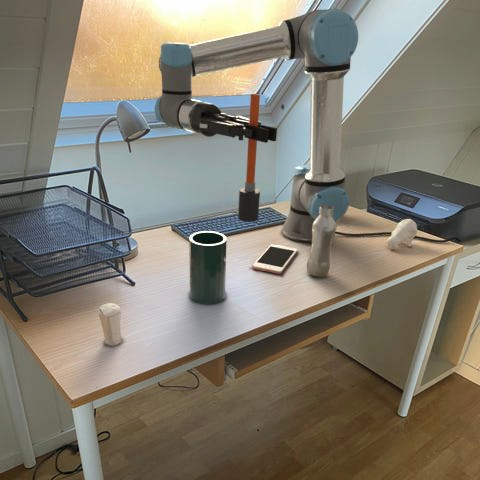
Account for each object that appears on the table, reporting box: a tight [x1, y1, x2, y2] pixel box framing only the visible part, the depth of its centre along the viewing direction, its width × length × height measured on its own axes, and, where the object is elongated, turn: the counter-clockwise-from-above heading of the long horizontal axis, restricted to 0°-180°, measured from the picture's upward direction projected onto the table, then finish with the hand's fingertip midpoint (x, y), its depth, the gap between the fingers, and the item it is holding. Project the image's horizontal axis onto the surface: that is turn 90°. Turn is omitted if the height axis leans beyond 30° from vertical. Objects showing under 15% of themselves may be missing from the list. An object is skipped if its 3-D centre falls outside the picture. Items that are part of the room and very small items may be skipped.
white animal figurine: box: [386, 218, 418, 250], centre depth 156 cm, size 6×8×12 cm
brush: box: [237, 93, 261, 223], centre depth 110 cm, size 5×5×28 cm
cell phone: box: [251, 243, 298, 275], centre depth 144 cm, size 9×18×1 cm, turn 158°
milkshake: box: [97, 302, 122, 347], centre depth 102 cm, size 5×5×10 cm
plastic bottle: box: [306, 205, 337, 278], centre depth 132 cm, size 6×7×20 cm
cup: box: [188, 230, 227, 305], centre depth 120 cm, size 9×9×16 cm
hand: (271, 135), depth 104 cm, fingers closed on brush, 2 cm apart
